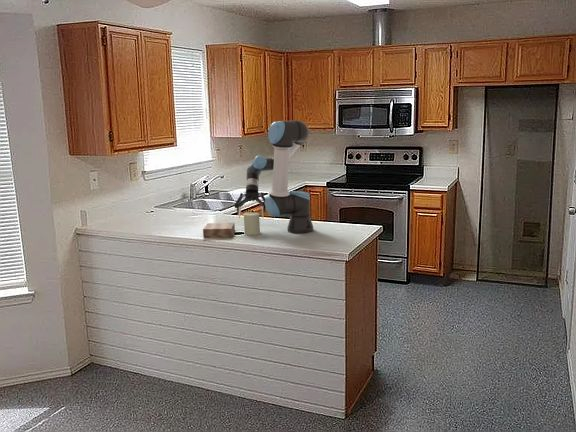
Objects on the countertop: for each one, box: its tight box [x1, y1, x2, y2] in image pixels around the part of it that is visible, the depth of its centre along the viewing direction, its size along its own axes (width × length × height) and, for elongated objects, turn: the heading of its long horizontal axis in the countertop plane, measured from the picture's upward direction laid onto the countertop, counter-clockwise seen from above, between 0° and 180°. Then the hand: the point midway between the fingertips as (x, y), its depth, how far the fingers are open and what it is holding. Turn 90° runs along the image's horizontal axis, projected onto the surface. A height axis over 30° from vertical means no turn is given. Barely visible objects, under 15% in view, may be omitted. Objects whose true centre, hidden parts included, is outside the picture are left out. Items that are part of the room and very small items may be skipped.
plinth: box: [202, 222, 236, 239], centre depth 326 cm, size 16×16×5 cm
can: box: [243, 211, 261, 236], centre depth 325 cm, size 9×9×12 cm
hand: (250, 216), depth 328 cm, fingers open, 13 cm apart
